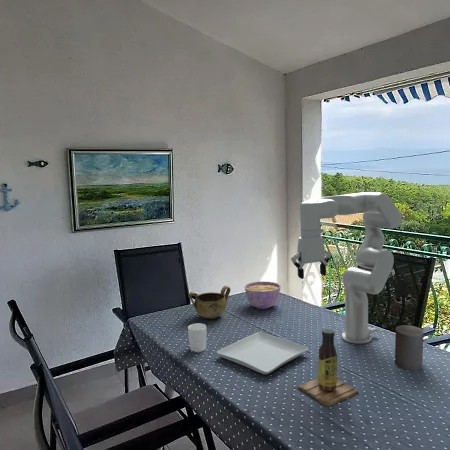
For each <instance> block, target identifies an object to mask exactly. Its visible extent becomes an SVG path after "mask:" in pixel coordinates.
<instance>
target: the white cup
mask: <svg viewBox="0 0 450 450" xmlns="http://www.w3.org/2000/svg"><path fill="white" fill-rule="evenodd" d="M187 330H188V331H187V332H188V333H187V334H188V341H189V349H190V351H191V352H193V351H194V352H193V353H200V352H204V351H206V349H207V325H206V324H204V323H201V322H200V323H198V322H197V323H191V324H190V325H188V326H187Z"/></svg>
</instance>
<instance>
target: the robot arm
mask: <svg viewBox="0 0 450 450" xmlns="http://www.w3.org/2000/svg"><path fill="white" fill-rule="evenodd" d="M361 213H362V221H363V225H364V229H365V235H364V238H363V240H362V243H361V245H360V247H359V250H358V251H357V253H356V257H355V263H356V265H358V266H359V267H356V266H355V267H352V266H351V267H348V268H347V269H345V270H344V272H343V274H342V284H343V288H344V303H345V304H344V306H345V307H344V310H345V311H344V313H345V314H344V316H345V317H344V322H345V323H344V325H345V328H344V329H345V331H343V332H342V333H341V339H342V340H343V341H345V342H347V343H350V344H356V345H357V344H358V345H359V344H360V345H362V344H368V343H370V342H371V341H372V338H373V337H372V334H374V333H378V328H377V327H373V328H372V327H371V326H369V299H368V295H367V294H370V295H377V294H380V292H382V291H383V289H384V287H385V284H386V282H387V280H388V278H389V276H390V274H391V273H392V272H391V271H392V270H393V266H394V261H395V260H394V254H393V253H392V252H391V251H390V250H388V249H386V248H383V247H384V244H385V242H386V240H385V238H386V237H385V236H384V233H383V231H382V229H381V228H384V229H396V228H398V227H400V225H401V224H402V214H401V213H402V212H401V211H400V210H399V208H398V207H397V206H396V205H395V203H394V202H393V200H392V199H391V198H390V197H389V196H388V195H387V194H385V193H383V192H379V191H378V192H377V191H376V192H375V191H362V192H355V193H347V194H346V193H345V194H338V195H331V196H330V195H329V196H320V197H313V198H309V199H308V200H306V201H303V202H300V204H299V214H300V216H299V217H300V218H299V220H300V236H299V237H298V242H297V247H296V248H297V252H296V254H295V255H293V256H292V257H291V258H290V261H291V262H292V263H293V265H294V266H295V267H296V268H297V276H298V278H299V279H301V280H303V279H304V278H305V274H304V273H305V271H304V268H303V267H304V266H305V264H312V263H319V274H320V275H322V276H326V275H327V273H326V272H327V265H328V263H329V262H330V259H331V256H332V252H330V251H327V250H325V243H324V238H323V236H322V233H324V229H323V228H321V219H322V220H323V219H326V220H329V219H333V218H335V217H336V216H350V215H355V214H356V215H357V214H361Z"/></svg>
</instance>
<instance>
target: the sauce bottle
mask: <svg viewBox="0 0 450 450" xmlns="http://www.w3.org/2000/svg"><path fill="white" fill-rule="evenodd" d="M321 334H322V340H321V341H322V342H321V345H320V346H319V349H318V357H317V359H318V362H317V364H318V366H317V378H318V386H319V388H320V389H322V390H325V391H333V390H334V389H336V384H337V380H338V354H337V350H336V347H335V330H334V329H328V328H325V329H322V330H321Z"/></svg>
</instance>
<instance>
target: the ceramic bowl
mask: <svg viewBox="0 0 450 450" xmlns="http://www.w3.org/2000/svg"><path fill="white" fill-rule="evenodd" d="M230 294H231V287H230V286H228V285H224V286H223V287H222V288H221V290H220V292H212V291H211V292H203V293H199V294H196V293H195V292H193V291H190V292H189V293H188V298H189V300H190V302H191V304H192V306H193V307H194V309H195V311H196V313H197V314H198V315H199V316H200V317H202V318H204V319H207V320H208V319H209V320H214V319H216V318H219V317H220V316H222V315H223V314H224V312H225V311H226V308H227V301H228V298H229V295H230ZM193 295H194V299H193V297H192V296H193Z"/></svg>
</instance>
